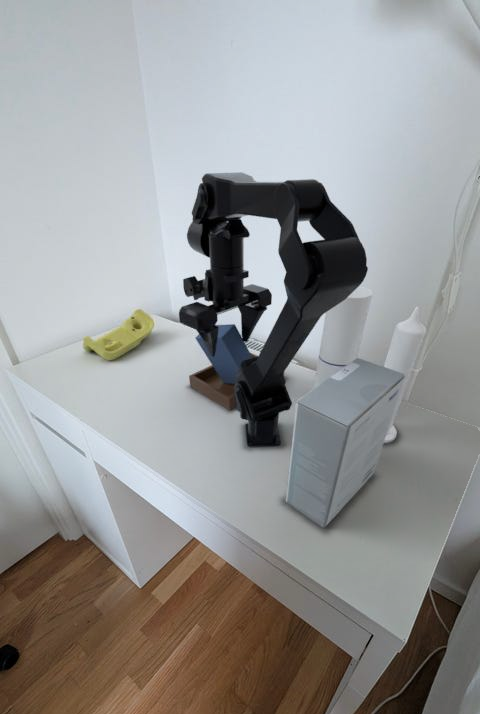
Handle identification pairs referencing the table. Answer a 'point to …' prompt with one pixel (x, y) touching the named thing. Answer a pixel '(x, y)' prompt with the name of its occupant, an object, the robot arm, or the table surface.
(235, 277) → the robot arm
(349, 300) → the cylindrical container
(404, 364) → the white nozzle bottle
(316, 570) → the table surface
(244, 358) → the back pad
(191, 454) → the table surface
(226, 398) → the tray
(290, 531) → the table surface
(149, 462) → the table surface
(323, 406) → the hard drive box
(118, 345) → the plastic component
